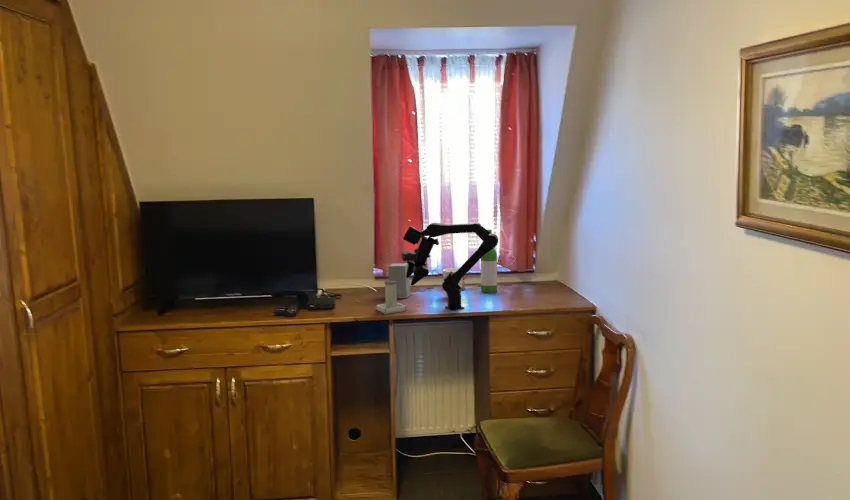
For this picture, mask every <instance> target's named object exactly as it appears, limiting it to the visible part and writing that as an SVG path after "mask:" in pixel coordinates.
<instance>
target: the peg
mask: <svg viewBox="0 0 850 500" xmlns="http://www.w3.org/2000/svg"><path fill="white" fill-rule="evenodd" d="M384 293H385V295H384V296H385V304H386V308H393V307H397V302H398V300H397V299H398V298H397V294H396V281H389V280H386V281H384Z"/></svg>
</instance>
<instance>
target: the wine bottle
mask: <svg viewBox="0 0 850 500" xmlns="http://www.w3.org/2000/svg"><path fill="white" fill-rule="evenodd" d="M487 230H488V231H489V232H490V233H491V234H493V230H492V229H487ZM480 291H481V292H482V293H485V294H486V293H487V294H488V293H489V294H492V293H496V292H497V291H498V253H497V251H496V249H495V248H493V249H492V250H491V251H489V252H488V253H486V254H485V255H483V256H482V258H481V259H480Z"/></svg>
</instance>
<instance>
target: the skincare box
mask: <svg viewBox="0 0 850 500" xmlns="http://www.w3.org/2000/svg"><path fill="white" fill-rule="evenodd" d="M407 268H408V263H407V262H405V263H391V264H389V265H388V268H387V269H388V279H389V280H388V281H396V294H397V299H408V298H409V297H410V296H411V282H410V277H409V278H407V277H406V274H407Z"/></svg>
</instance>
